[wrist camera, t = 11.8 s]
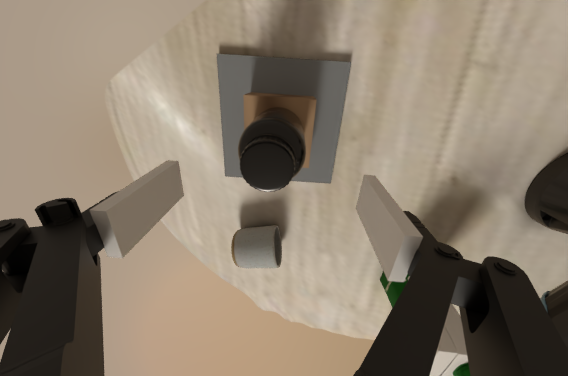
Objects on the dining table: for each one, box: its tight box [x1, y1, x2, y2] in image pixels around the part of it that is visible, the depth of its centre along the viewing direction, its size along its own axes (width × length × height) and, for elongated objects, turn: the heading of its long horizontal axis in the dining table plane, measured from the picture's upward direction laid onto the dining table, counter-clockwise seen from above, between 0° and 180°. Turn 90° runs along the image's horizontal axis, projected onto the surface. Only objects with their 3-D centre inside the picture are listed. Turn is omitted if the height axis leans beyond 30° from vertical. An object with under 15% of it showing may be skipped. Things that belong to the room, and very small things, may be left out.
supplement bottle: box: [238, 107, 306, 192], centre depth 24 cm, size 7×7×12 cm
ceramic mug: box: [231, 225, 282, 268], centre depth 42 cm, size 11×8×8 cm
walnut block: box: [243, 92, 316, 168], centre depth 31 cm, size 9×9×5 cm
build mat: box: [217, 54, 351, 184], centre depth 34 cm, size 18×18×1 cm
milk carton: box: [380, 271, 470, 376], centre depth 38 cm, size 9×9×20 cm
